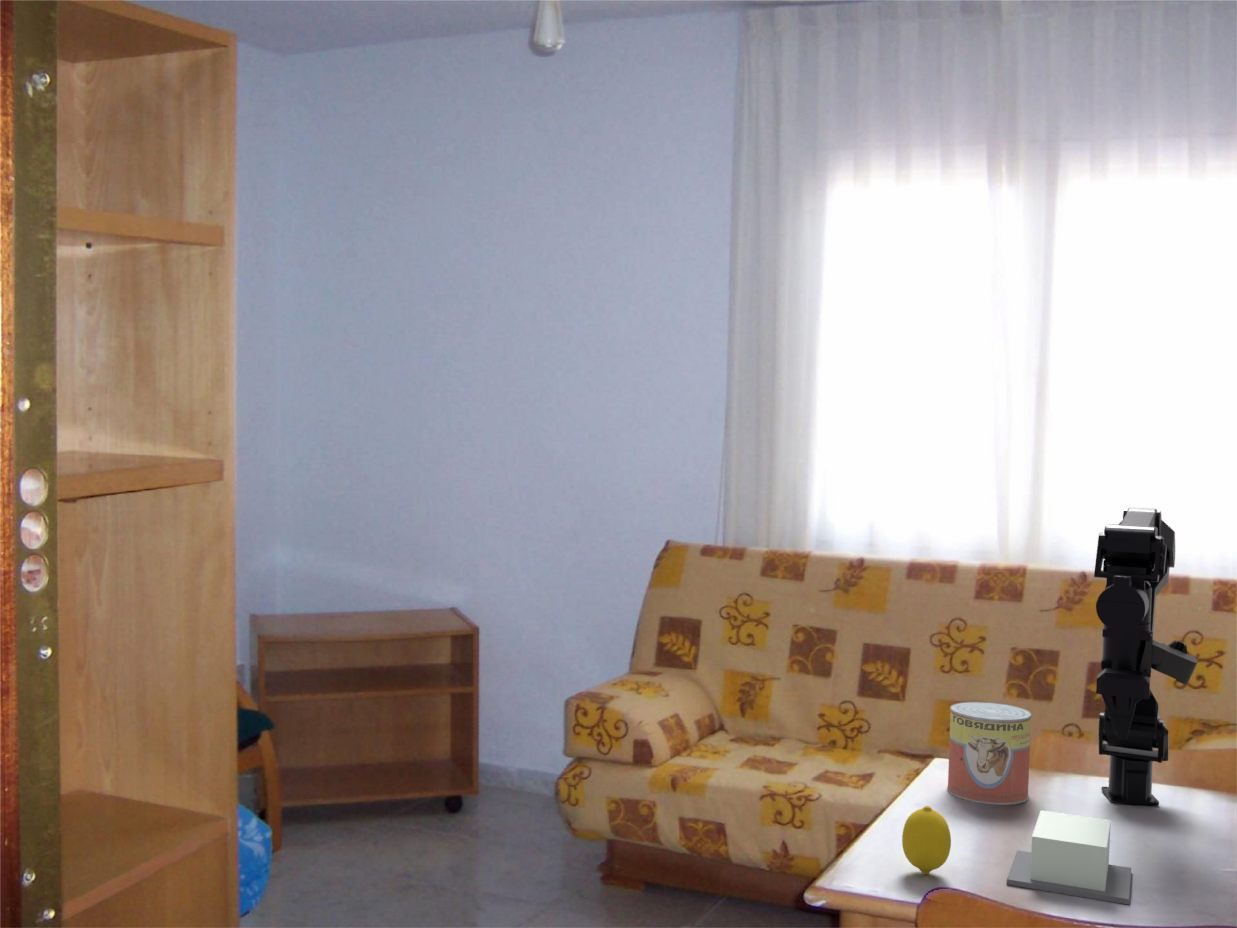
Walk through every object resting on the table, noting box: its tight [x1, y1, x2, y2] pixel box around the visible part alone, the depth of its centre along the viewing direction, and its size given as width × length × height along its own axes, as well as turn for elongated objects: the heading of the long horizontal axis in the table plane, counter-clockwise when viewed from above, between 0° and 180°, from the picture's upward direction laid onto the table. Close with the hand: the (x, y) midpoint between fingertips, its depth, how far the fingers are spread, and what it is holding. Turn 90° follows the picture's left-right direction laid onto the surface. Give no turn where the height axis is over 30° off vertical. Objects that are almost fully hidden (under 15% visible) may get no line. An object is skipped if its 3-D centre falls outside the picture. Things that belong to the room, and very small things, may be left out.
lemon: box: [901, 805, 952, 875], centre depth 145 cm, size 6×6×8 cm
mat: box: [1006, 849, 1132, 905], centre depth 145 cm, size 11×13×1 cm
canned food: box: [946, 701, 1033, 806], centre depth 179 cm, size 11×11×12 cm
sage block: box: [1030, 810, 1112, 891], centre depth 146 cm, size 5×8×11 cm
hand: (1122, 738), depth 164 cm, fingers closed
